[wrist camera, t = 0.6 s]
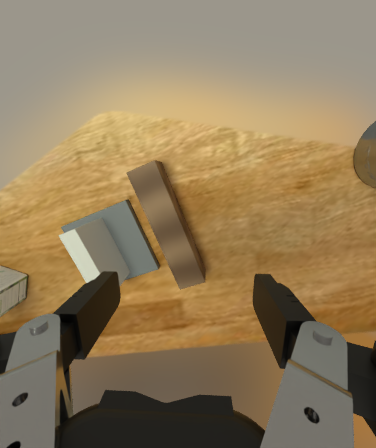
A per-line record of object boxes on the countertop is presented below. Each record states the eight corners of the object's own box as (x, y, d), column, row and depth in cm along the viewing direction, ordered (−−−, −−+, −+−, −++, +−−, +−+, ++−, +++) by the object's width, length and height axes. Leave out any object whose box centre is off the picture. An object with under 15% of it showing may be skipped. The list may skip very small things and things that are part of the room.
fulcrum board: (128, 199, 28) (103, 207, 21) (159, 266, 30) (146, 292, 24) (65, 225, 30) (25, 240, 23) (100, 285, 33) (72, 314, 26)
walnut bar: (137, 172, 27) (126, 172, 23) (161, 162, 26) (154, 160, 22) (183, 275, 31) (180, 289, 27) (205, 268, 30) (205, 282, 26)
